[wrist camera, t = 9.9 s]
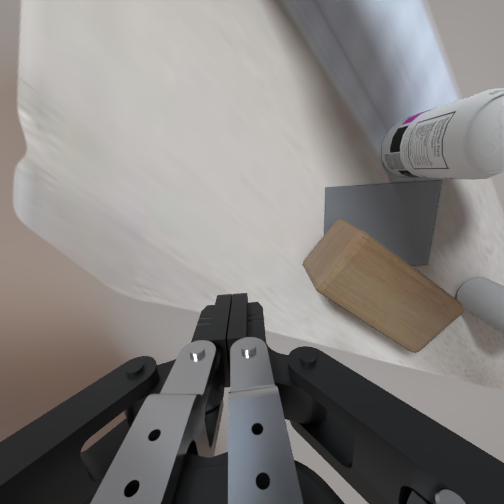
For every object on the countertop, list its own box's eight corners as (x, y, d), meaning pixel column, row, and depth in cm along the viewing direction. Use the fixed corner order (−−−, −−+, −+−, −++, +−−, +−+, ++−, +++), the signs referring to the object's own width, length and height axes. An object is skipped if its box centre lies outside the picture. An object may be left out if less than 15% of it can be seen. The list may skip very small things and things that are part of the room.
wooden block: (337, 214, 40) (423, 278, 44) (299, 262, 42) (382, 318, 46) (365, 231, 30) (471, 310, 34) (313, 291, 33) (417, 357, 37)
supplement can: (407, 105, 35) (514, 60, 21) (445, 142, 37) (568, 124, 23) (367, 153, 37) (440, 143, 23) (404, 187, 39) (494, 196, 25)
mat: (325, 187, 39) (325, 187, 39) (440, 180, 39) (442, 180, 38) (322, 270, 43) (323, 270, 43) (426, 263, 43) (427, 264, 43)
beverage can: (447, 303, 46) (513, 347, 34) (463, 272, 44) (539, 307, 32) (478, 310, 46) (553, 355, 35) (496, 279, 44) (582, 316, 33)
